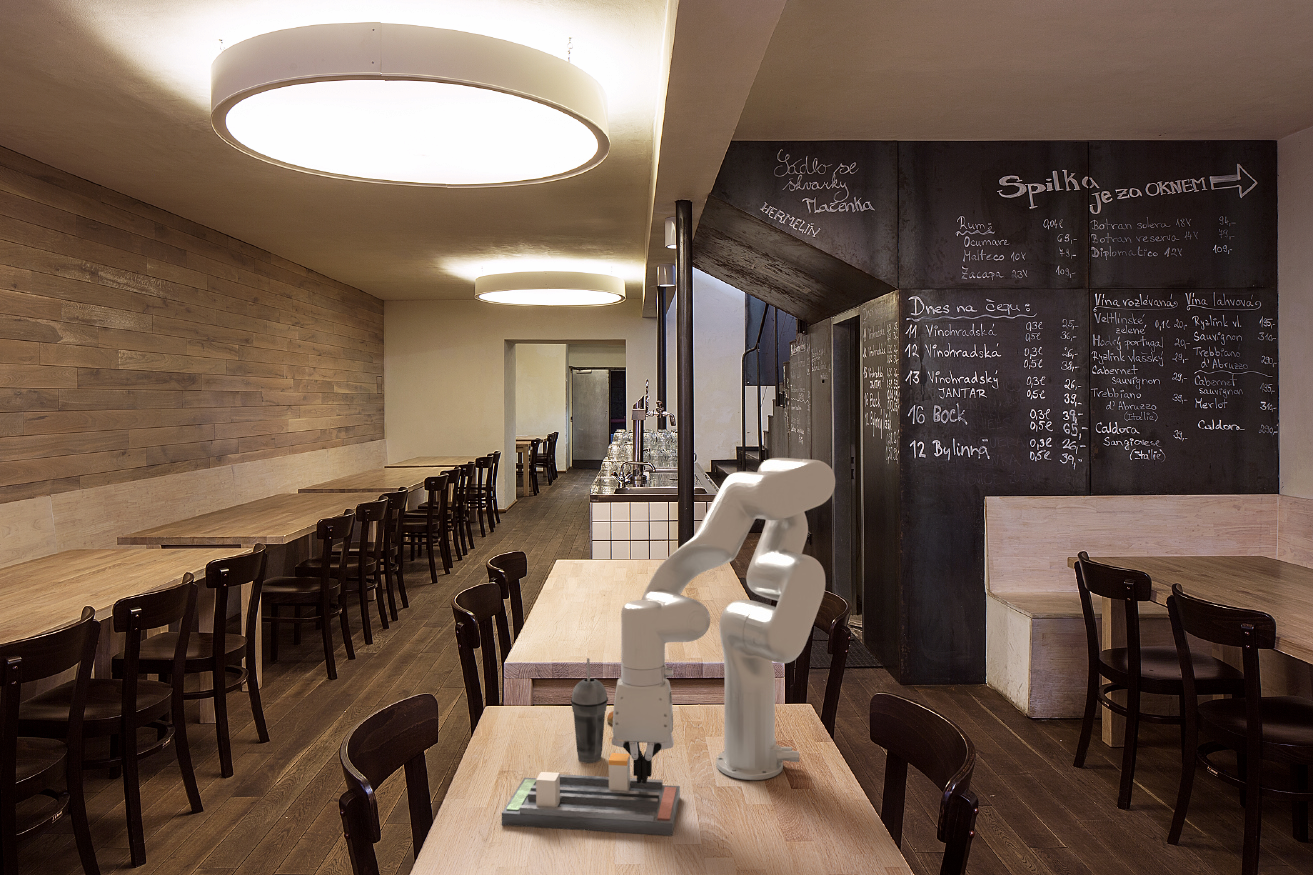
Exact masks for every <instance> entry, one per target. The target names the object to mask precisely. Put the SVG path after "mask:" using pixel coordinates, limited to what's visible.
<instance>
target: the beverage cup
mask: <svg viewBox="0 0 1313 875" xmlns="http://www.w3.org/2000/svg"><path fill="white" fill-rule="evenodd" d="M590 660H591V659H590V658H589V657H588V658H586V675H587V676H586V677H587V678H584V679H582V680H580V681H579V682H578V683H577V684H576V685H575V686H574V687H573V690H572V693H571V699H570V702H571V709H572V712H573V720H574V730H575V731H574V732H575V742H576V753H577V760H578V761H579V762H580V763H583V764H595V763H598V762H599V761H601V760H602V752H603V744H604V730H605V717H606V711H607V706H608V701H609V698H608V697H609V696H608V692H607V689H606V687H605V686H604V684H603V683H602V682H601V681H600V680H598V679H597V678H596V679H595V678H593V677H592V678H591V667H590V663H591V662H590Z"/></svg>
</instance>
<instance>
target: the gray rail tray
mask: <svg viewBox="0 0 1313 875" xmlns="http://www.w3.org/2000/svg"><path fill="white" fill-rule="evenodd" d="M537 778H538V777H524V778H523V779H522V781H521V782H520V783H519V786H518V787H517V789H516V790H515V792H514V793H513V795H512V796H511V798H510V799H509V801H508V802H507V803H506V806H505V807H504V809H503V810H502V812H501V826H511V827H530V828H542V829H543V828H544V829H547V828H548V829H561V830H572V831H573V830H576V831H588V832H589V831H590V832H604V833H605V832H606V833H608V832H609V833H623V834H638V835H639V834H640V835H641V834H642V835H651V836H652V835H653V836H654V835H656V836H673V834H674V828H675V822H676V818H677V813H678V809H679V804H680V797H681V787H680V785H666V784H663V783H664V780H663V779H653V778H648V779H647V782H646V784H644V783H642V781H641V782H640V783H637V777H636V778H634V777H630V788H629V791H624V790H609V776H597V775H596V776H595V775H582V774H581V775H579V774H562V773H561V774H560V803H559V805H558V807H550V806H536V779H537Z"/></svg>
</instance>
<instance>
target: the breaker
mask: <svg viewBox="0 0 1313 875" xmlns="http://www.w3.org/2000/svg"><path fill="white" fill-rule="evenodd" d="M536 778H537V779H536V806H550V807H558V805H559V803H560V772H551V771H550V772H549V771H540V773H539V774H538V776H537V777H536Z"/></svg>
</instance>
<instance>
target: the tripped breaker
mask: <svg viewBox="0 0 1313 875" xmlns="http://www.w3.org/2000/svg"><path fill="white" fill-rule="evenodd" d="M608 777H609V790H624V791H629V788H630V778H631V755H630V754H629V753H622V752H621V753H619V752H618V753H617V752H616V753H615V752H611V754H610V755H609V759H608Z"/></svg>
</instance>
